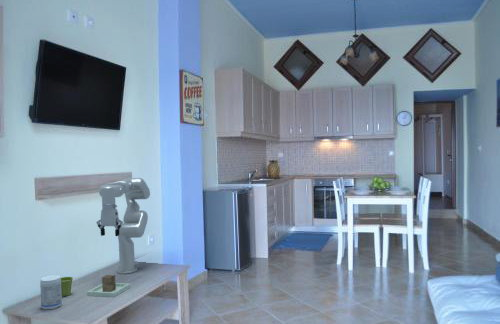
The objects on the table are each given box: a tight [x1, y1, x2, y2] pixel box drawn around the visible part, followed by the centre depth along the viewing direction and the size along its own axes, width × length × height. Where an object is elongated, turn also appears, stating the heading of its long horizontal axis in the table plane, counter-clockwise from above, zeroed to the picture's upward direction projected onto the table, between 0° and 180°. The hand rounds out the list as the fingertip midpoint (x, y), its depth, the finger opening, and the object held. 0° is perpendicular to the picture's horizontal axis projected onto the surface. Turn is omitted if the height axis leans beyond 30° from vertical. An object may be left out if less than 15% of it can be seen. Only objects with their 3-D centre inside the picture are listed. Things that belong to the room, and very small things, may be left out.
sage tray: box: [86, 282, 131, 298], centre depth 230 cm, size 16×16×2 cm
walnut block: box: [101, 274, 117, 292], centre depth 230 cm, size 5×5×8 cm
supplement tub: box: [39, 274, 63, 310], centre depth 209 cm, size 10×10×15 cm
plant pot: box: [61, 276, 74, 298], centre depth 227 cm, size 9×9×9 cm
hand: (110, 235), depth 246 cm, fingers open, 9 cm apart
